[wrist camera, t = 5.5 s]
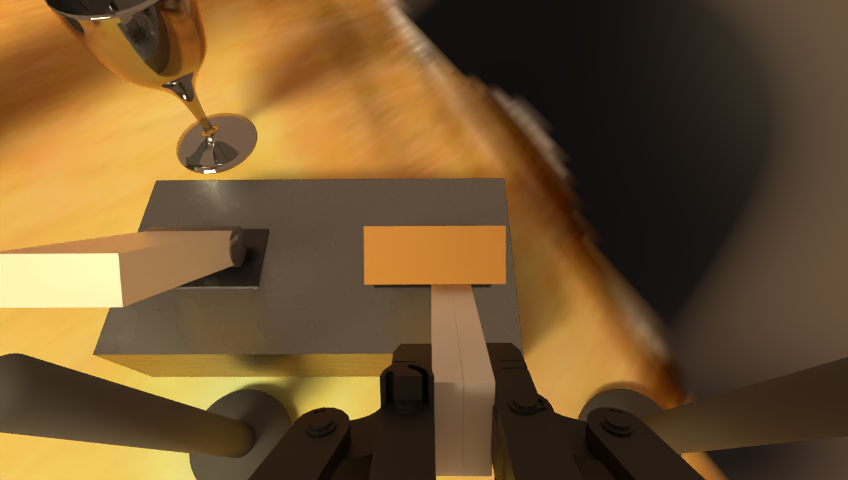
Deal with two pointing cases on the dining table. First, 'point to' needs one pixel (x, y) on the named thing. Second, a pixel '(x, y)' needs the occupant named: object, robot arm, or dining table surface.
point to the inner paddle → (116, 266)
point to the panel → (301, 279)
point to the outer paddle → (434, 254)
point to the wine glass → (161, 67)
